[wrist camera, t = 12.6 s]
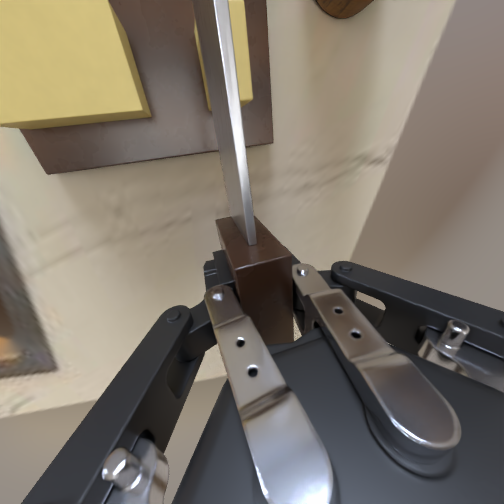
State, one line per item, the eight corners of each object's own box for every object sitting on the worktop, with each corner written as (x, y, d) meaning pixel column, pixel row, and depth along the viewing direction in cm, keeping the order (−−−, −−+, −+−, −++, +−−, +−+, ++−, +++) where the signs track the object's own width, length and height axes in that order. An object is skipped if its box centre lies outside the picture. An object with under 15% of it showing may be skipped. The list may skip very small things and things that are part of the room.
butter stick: (151, 117, 13) (143, 110, 11) (29, 129, 12) (-15, 125, 9) (125, 31, 11) (107, -2, 9) (-26, 35, 10) (-100, -3, 7)
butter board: (269, 143, 17) (273, 143, 16) (55, 173, 14) (46, 175, 13) (259, -22, 12) (265, -34, 11) (-62, -29, 9) (-87, -46, 8)
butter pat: (242, 107, 14) (253, 99, 12) (208, 111, 14) (213, 103, 11) (232, 28, 12) (244, -2, 10) (193, 29, 12) (195, -2, 9)
